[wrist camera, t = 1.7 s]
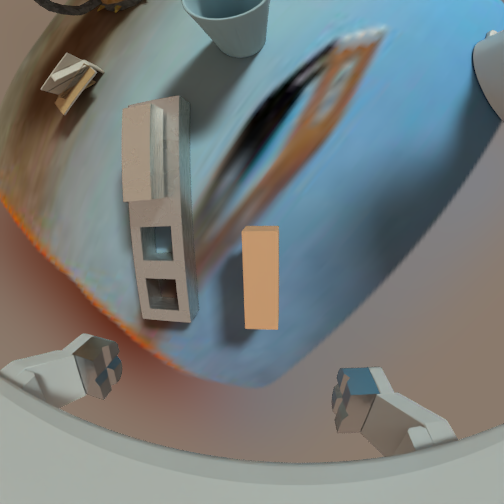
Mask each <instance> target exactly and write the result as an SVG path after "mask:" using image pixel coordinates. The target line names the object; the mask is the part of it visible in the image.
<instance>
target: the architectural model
mask: <svg viewBox="0 0 504 504" xmlns="http://www.w3.org/2000/svg"><path fill="white" fill-rule="evenodd" d="M96 70H97V71H99V72H101V73H103V74H104V73H105V72H104V71H103V70H102V69H100V68H99V67H98V66H96V65H94V64H92V63H90V62H88V61H86V60H81V59H79V58H77V57H75V56H73V55H71V54H69V53H66V54H65V55H64V57H63V58H62V59H61V61H60V62H59V63H58V65H57V66H56V67H55V69H54V70H53V71H52V73H51V74H50V76H49V77H48V79H47V80H46V81H45V83H44V84H43V86H42V87H41V90H43V91H47V92H50V93H54V94H57V95H59V96H58V99H57V100H56V102H55V104H56V106H57V107H58V108H59V110H60V111H61V112H62V113H63V115H66V114H67V112H68V111H69V109H70V108H71V106H72V105H73V103H74V102H75V101H76V99H77V98H78V97H79V95H80V94H81V93H82V91H83V90H84V89H86V88H88V87H90V86H92V85H93V84H95V83H96V82H95V81H93V80H92V78H93V77H94V76H95V75H96V74H97V72H96Z"/></svg>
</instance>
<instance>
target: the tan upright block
mask: <svg viewBox="0 0 504 504" xmlns="http://www.w3.org/2000/svg"><path fill="white" fill-rule="evenodd" d="M242 255H243V283H244V310H245V329H278V319H279V226H246V227H245V228H244V229H243V230H242Z"/></svg>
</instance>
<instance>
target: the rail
mask: <svg viewBox="0 0 504 504" xmlns="http://www.w3.org/2000/svg"><path fill="white" fill-rule="evenodd" d="M122 184H123V202H128V201H129V214H130V227H131V238H132V247H133V256H134V264H135V272H136V279H137V286H138V293H139V299H140V305H141V311H142V316H143V319H152V320H163V321H175V322H188V323H191V322H192V320H193V319H194V317H195V316H196V314H197V313H198V311H199V300H198V289H197V278H196V265H195V252H194V237H193V220H192V200H191V173H190V104H189V103H188V102H187V101H186V100H184V99H183V98H182V97H180V96H173V97H167V98H161V99H156V100H151V101H146V102H142V103H137V104H133V105H129V106H128V108H125V109H123V114H122ZM158 226H171V235H172V248H173V253H157V252H156V242H155V230H154V227H158ZM159 279H176V288H177V297H178V298H168V297H162V295H161V288H160V280H159Z"/></svg>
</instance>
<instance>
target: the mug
mask: <svg viewBox="0 0 504 504" xmlns="http://www.w3.org/2000/svg"><path fill="white" fill-rule="evenodd" d="M34 1H35V2H37V3H38V4H39V5H40V6H42V7H44V8H45V9H47V10H48V11H52V12H56V13H60V14H66V15H83V14H85V13H87V12H89V11H91V10H93V9H94V8H95V7H97V6H98V5H100V7H99V9H98V10H97V11H99V10H101V9H103V8H104V9H106V10H109V11H115V13H116V12H117V11H120V10H124V9H127V8H129V7H132V6H134V5H136V4H138V3H139V2H141V1H142V0H89V1H87V2H86V3H84V4H82V5H80V6H67V5H61V4H58V3H54V2H51V1H50V0H34Z"/></svg>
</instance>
